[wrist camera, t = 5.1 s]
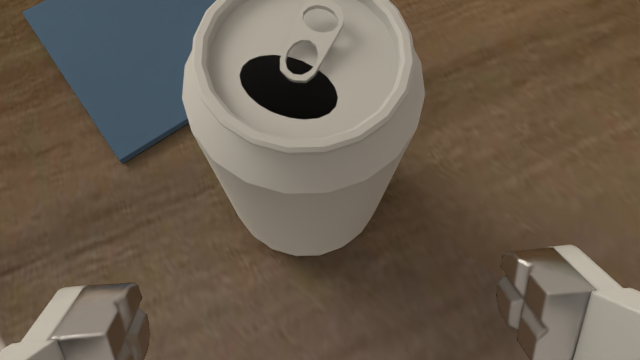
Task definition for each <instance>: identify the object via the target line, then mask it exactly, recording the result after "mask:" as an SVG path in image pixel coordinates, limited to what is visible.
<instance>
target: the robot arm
mask: <svg viewBox="0 0 640 360" xmlns="http://www.w3.org/2000/svg"><path fill="white" fill-rule="evenodd" d="M500 267H501V269H502V270H503V272H504V273H505V274H506V275H505V276H504V277H503V278H502V279H501V280H500V281H499V282H498V285H497V294H496V296H497V303H498V308H499V311H500V313H501V316H502V317H503V319H504V321H505V322H506V324H507V325H508V326H510V327H512V328H514V329H515V330H517V331H518V336H517V341H518V342H519V344H520V345H521V347H522V348H523V350H524V351H525V353H526V354H527V356H528V357H529V359H530V360H640V291H637V290H635V289H632V288H622V287H621V286H620V285H619V284H618V283H617V282H616V281H615V280H613V279H612V278H611V277H610V276H609V275H608V274H607V273H606V272H604V271H603V270H602V269H601V268H600V267H599V266H598V265H597V264H596V263H594V262H593V261H592V260H591V259H590V258H589V257H588V256H587V255H586V254H584V253H583V252H582V251H581V250H580V249H579V248H578V247H576V246H573V245H562V246H553V247H548V248H540V249H529V250H518V251H508V252H505V253H504V255H503V256H502V260H501V266H500ZM141 300H142V295H141V292H140V289H139V286H138V285H137V284H135V283H119V284H103V285H88V286H75V287H64V288H62V289H60V290H58V291H57V293H56V294H55V295H54V297H53V298H52V299H51V301H50V302H49V304H48V305H47V306H46V308H45V309H44V310H43V312H42V313H41V315H40V316H39V317H38V319H37V320H36V321H35V323H34V324H33V326H32V327H31V328H30V330H29V331H28V332H27V334H26V335H25V337H24V338H23V339H22V341H21V342H20V343H13V344H10V345H9V346H7V347H6V348H4V349H2V350H1V351H0V360H144V359H145V356H146V353H147V350H148V347H149V338H150V328H149V321H148V317H147V314H146V313H145V312H143V311H142V310H141V309H140V308H138V307H139V305H140V302H141Z"/></svg>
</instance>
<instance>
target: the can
mask: <svg viewBox="0 0 640 360" xmlns="http://www.w3.org/2000/svg"><path fill="white" fill-rule="evenodd" d="M424 97H425V90H424V82H423V75H422V67H421V62H420V60H419V58H418V56H417V54H416V52H415V50H414V48H413V41H412V35H411V33H410V31H409V29H408V27H407V25H406V23H405V21H404V19H403V17H402V15H401V14H400V12H399V10H398V8H397V7H395V6H394V5H393V4H392V3H391V2H390V1H389V0H216V1H215V2H214V3H213V4H212V5H211V6H210V7H209V8H208V9H207V10H206V12H205V14H204V16H203V18H202V20H201V22H200V25H199V27H198V29H197V31H196V33H195V35H194V37H193V46H192V51H191V53H190V55H189V58H188V60H187V62H186V64H185V69H184V80H183V92H182V100H183V104H184V107H185V111H186V114H187V117H188V121H189V124H190V128H191V131H192V133H193V135H194V137H195V138H196V140H197V142H198V144H199V146H200V147H201V149H202V151H203V153H204V155H205V156H206V158H207V160H208V162H209V164H210V165H211V167H212V169H213V171H214V173H215V174H216V176H217V178H218V180H219V182H220V183H221V185H222V187H223V189H224V191H225V192H226V194H227V196H228V198H229V200H230V201H231V203H232V205H233V207H234V209H235V210H236V212H237V214H238V216H239V218H240V219H241V220H242V222H243V223H244V224H245V226H246V227H247V228H248V230H249V231H250V232H251V234H252V235H253V236H254V237H256V238H257V239H258V240H260V241H261V242H263V243H264V244H266V245H267V246H269V247H270V248H271V249H274V250H277V251H280V252H284V253H287V254H291V255H294V256H312V255H322V254H325V253H328V252H331V251H333V250H336V249H339V248H342V247H344V246H345V245H346V244H347V243H349V242H350V241H351V240H353V239H354V238H355V237H356V236H358V235H359V234H360V233H361V232H362V231H363V229H364V228H365V226H366V225H367V223H368V222H369V220H370V219H371V217H372V216H373V214H374V212H375V210H376V208H377V206H378V204H379V202H380V200H381V198H382V196H383V194H384V192H385V190H386V188H387V186H388V184H389V182H390V180H391V178H392V177H393V175H394V173H395V171H396V169H397V167H398V165H399V163H400V161H401V159H402V157H403V155H404V153H405V151H406V149H407V147H408V145H409V143H410V141H411V139H412V137H413V135H414V133H415V131H416V129H417V127H418V123H419V118H420V114H421V110H422V106H423V101H424Z"/></svg>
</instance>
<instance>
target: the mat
mask: <svg viewBox="0 0 640 360" xmlns="http://www.w3.org/2000/svg"><path fill="white" fill-rule="evenodd" d="M215 1H216V0H45V1H43V2H41V3H39V4H37V5H35V6H33V7H31V8H29V9H27V10H25V11H23V12H22V13H23V15H24V16H25V18H26V19H27V21H28V22H29V24H30V26H31V27H32V29H33V30H34V32H35V33H36V35H37V36H38V38H39V39H40V41H41V42H42V44H43V45H44V47H45V48H46V50H47V51H48V53H49V54H50V56H51V57H52V59H53V60H54V62H55V64H56V65H57V67H58V68H59V70H60V71H61V73H62V74H63V76H64V77H65V79H66V80H67V82H68V83H69V85H70V86H71V88H72V89H73V91H74V92H75V94H76V95H77V97H78V99H79V100H80V102H81V103H82V105H83V106H84V108H85V109H86V111H87V112H88V114H89V115H90V117H91V118H92V120H93V121H94V123H95V124H96V126H97V127H98V129H99V130H100V132H101V134H102V135H103V137H104V138H105V140H106V141H107V143H108V144H109V146H110V147H111V149H112V150H113V152H114V153H115V155H116V156H117V158H118V159H119V161H120V162H121V163H125V162H127V161H128V160H130V159H131V158H133V157H135V156H136V155H138V154H140V153H141V152H143V151H144V150H146V149H148V148H149V147H151V146H152V145H154V144H156V143H157V142H159V141H161V140H162V139H164V138H165V137H167V136H169V135H170V134H172V133H174V132H175V131H177V130H178V129H180V128H182V127H183V126H185V125H187V124H188V123H189V121H188V117H187V114H186V111H185V107H184V104H183V100H182V92H183V80H184V69H185V64H186V62H187V60H188V58H189V55H190V53H191V51H192V46H193V37H194V35H195V33H196V31H197V29H198V27H199V25H200V22H201V20H202V18H203V16H204V14H205V12H206V10H207V9H208V8H209V7H210V6H211V5H212V4H213V3H214V2H215Z"/></svg>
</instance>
